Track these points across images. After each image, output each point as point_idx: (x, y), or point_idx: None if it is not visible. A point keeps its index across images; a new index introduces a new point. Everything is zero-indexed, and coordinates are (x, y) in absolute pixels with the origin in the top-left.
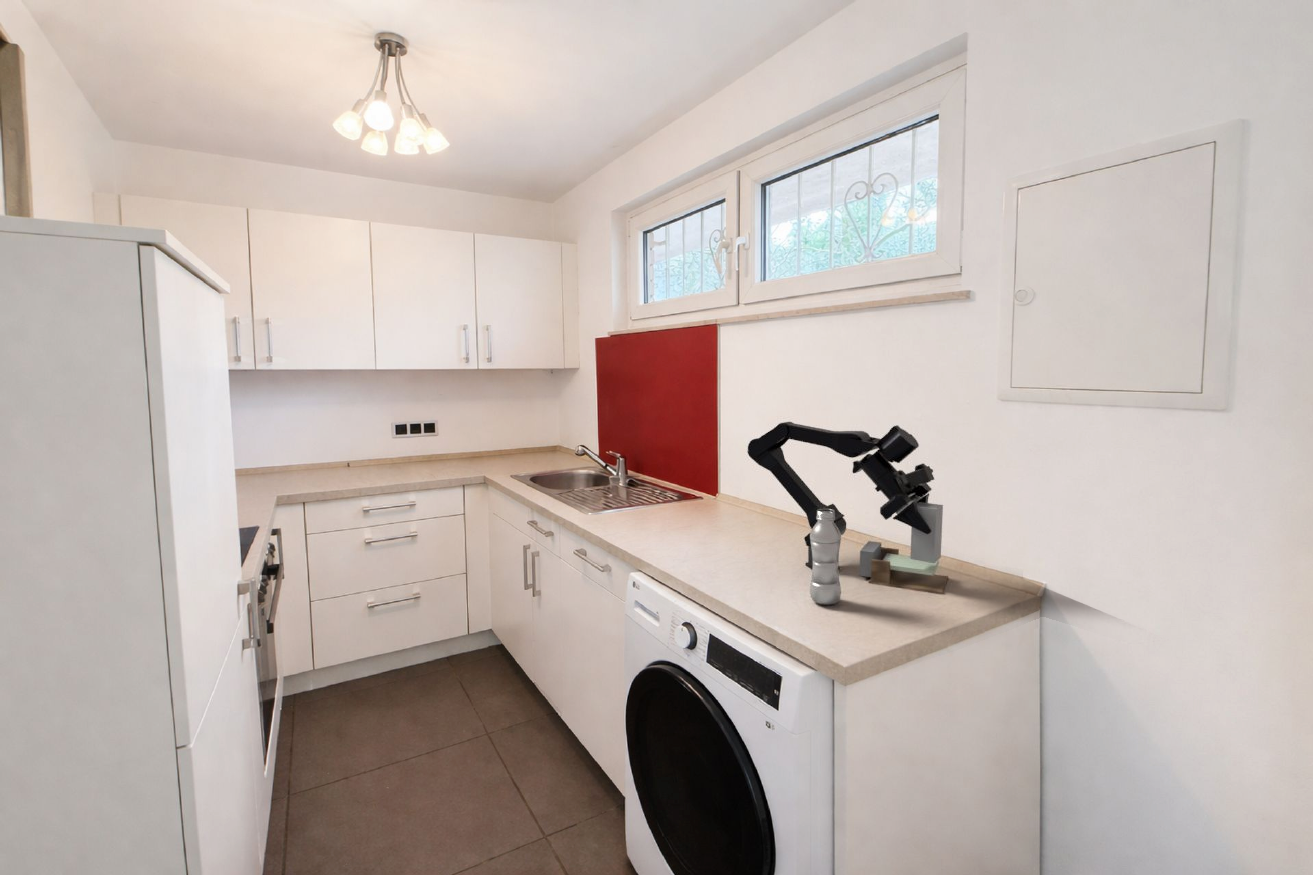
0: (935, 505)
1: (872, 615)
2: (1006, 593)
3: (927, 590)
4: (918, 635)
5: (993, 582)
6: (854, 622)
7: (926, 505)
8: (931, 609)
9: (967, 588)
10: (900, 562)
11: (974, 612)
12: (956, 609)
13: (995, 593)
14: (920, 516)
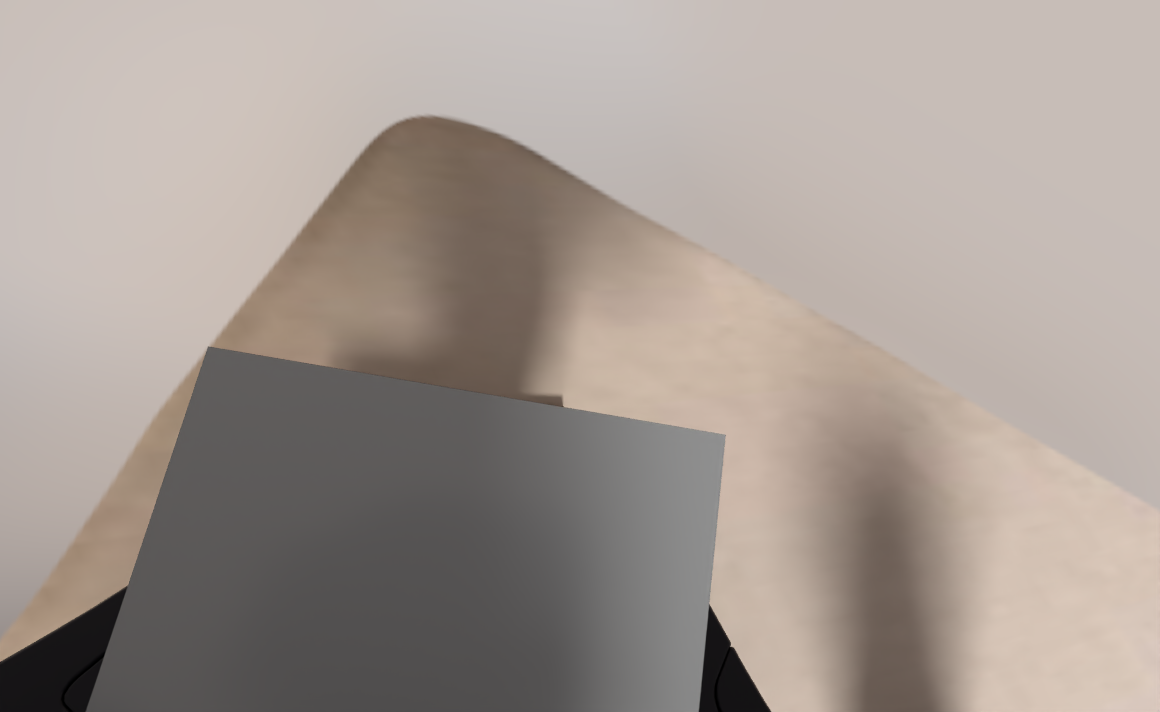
0: (323, 498)
1: (933, 628)
2: (440, 183)
3: None
4: (1006, 438)
5: (312, 225)
6: (1034, 677)
7: (414, 709)
8: (753, 426)
9: (440, 318)
10: None
11: (705, 284)
12: (706, 343)
13: (457, 219)
14: (714, 681)
